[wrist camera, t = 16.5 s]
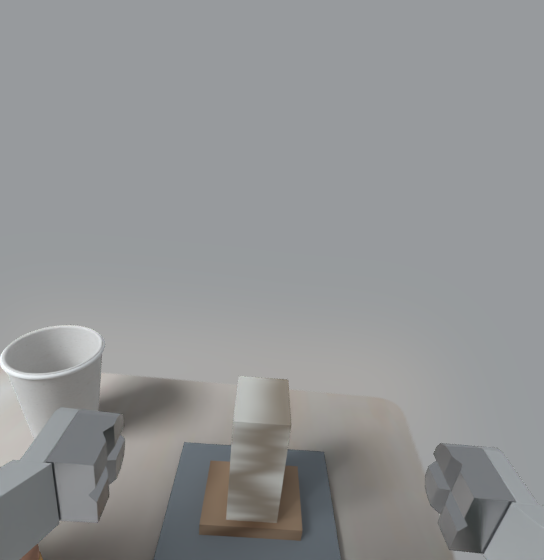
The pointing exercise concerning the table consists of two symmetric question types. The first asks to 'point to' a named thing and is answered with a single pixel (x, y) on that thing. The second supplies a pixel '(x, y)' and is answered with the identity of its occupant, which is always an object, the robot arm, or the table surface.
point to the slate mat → (240, 550)
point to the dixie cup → (54, 371)
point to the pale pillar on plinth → (255, 469)
